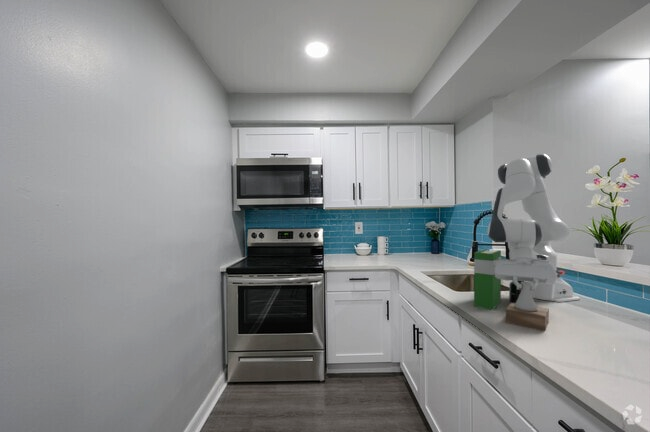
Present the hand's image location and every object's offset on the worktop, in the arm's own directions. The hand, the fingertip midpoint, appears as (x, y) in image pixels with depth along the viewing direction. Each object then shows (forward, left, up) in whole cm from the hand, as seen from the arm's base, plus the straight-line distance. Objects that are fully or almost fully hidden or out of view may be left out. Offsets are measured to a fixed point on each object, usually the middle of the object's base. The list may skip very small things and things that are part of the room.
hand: (526, 289), depth 110 cm
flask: (0, -1, -8) cm, 8 cm away
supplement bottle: (-17, -24, -13) cm, 32 cm away
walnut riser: (-1, 0, -12) cm, 13 cm away
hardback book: (-2, -24, -13) cm, 27 cm away
